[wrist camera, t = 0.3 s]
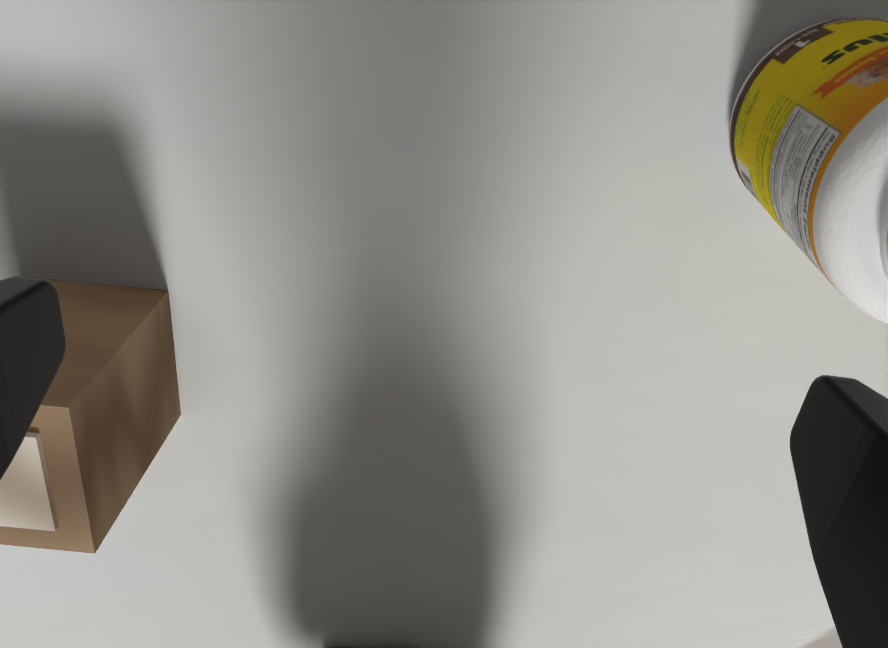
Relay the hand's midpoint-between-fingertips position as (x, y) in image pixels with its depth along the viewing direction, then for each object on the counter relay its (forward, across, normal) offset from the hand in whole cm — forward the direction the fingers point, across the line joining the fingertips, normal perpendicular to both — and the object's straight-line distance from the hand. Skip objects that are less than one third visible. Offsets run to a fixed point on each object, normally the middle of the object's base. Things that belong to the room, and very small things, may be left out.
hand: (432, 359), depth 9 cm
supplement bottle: (+15, -10, 0) cm, 18 cm away
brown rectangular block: (+15, +12, +11) cm, 22 cm away
